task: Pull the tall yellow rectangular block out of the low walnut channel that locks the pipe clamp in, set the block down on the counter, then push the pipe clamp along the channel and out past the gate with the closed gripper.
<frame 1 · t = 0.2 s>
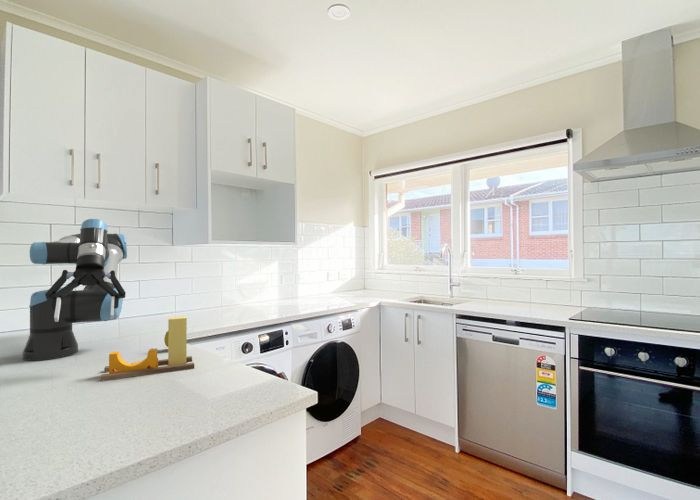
hand: (84, 318, 110), 16 cm above the countertop, tool tilted 35°, fingers open, 13 cm apart
channel: (150, 369, 112), on the countertop
yellow rectangular block: (177, 365, 115), on the countertop
lemon: (172, 350, 135), on the countertop
pipe clamp: (134, 372, 110), on the countertop
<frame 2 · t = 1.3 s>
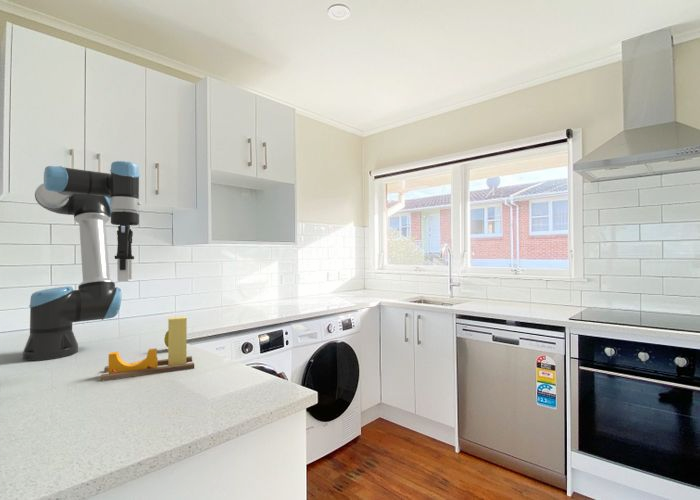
hand: (125, 280, 114), 27 cm above the countertop, tool pointing down, fingers open, 13 cm apart
nothing on the countertop moved.
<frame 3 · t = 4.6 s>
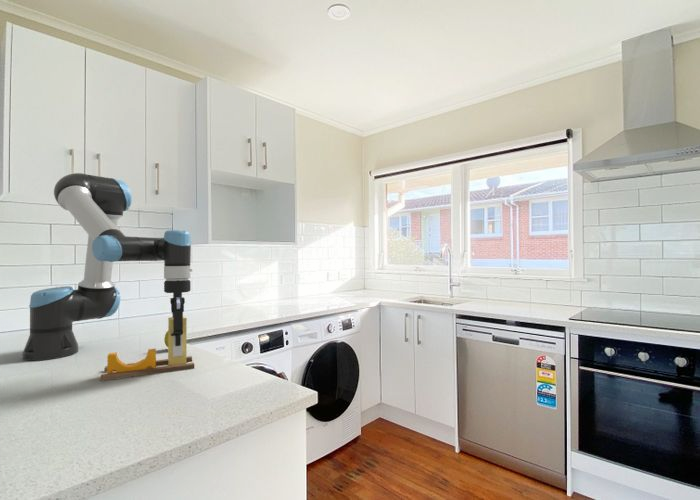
hand: (177, 354, 115), 4 cm above the countertop, tool pointing down, fingers closed on yellow rectangular block, 3 cm apart
yellow rectangular block: (177, 365, 115), on the countertop, touching gripper
when the fingers open (5 cm above the countertop, at t = 9.4 s): yellow rectangular block drops 1 cm, on the countertop.
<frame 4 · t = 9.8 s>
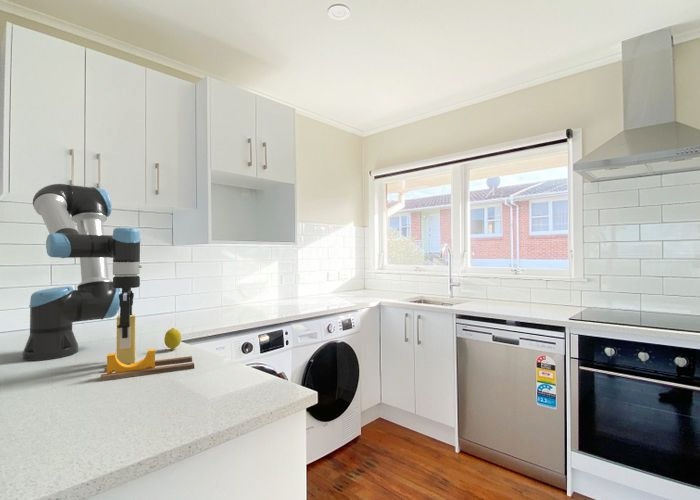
hand: (126, 344, 119), 6 cm above the countertop, tool pointing down, fingers open, 9 cm apart
yellow rectangular block: (126, 362, 119), on the countertop
pipe clamp: (131, 374, 109), on the countertop, touching channel
everything else where it was.
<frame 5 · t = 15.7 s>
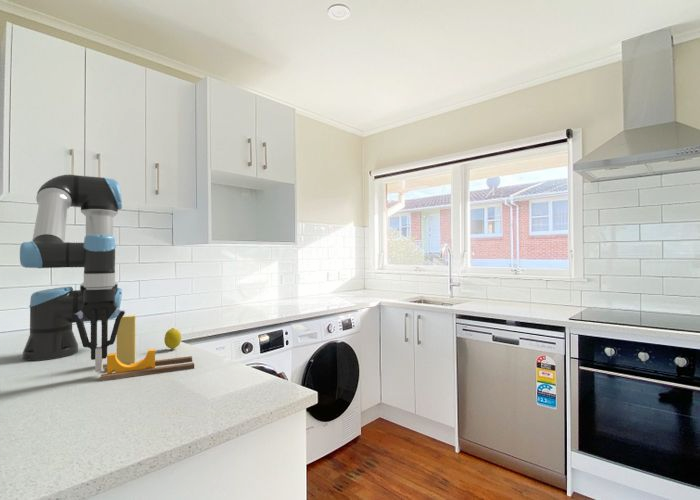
hand: (99, 370, 106), 2 cm above the countertop, tool pointing down, fingers closed
pipe clamp: (132, 374, 109), on the countertop, touching gripper
everything else where it was.
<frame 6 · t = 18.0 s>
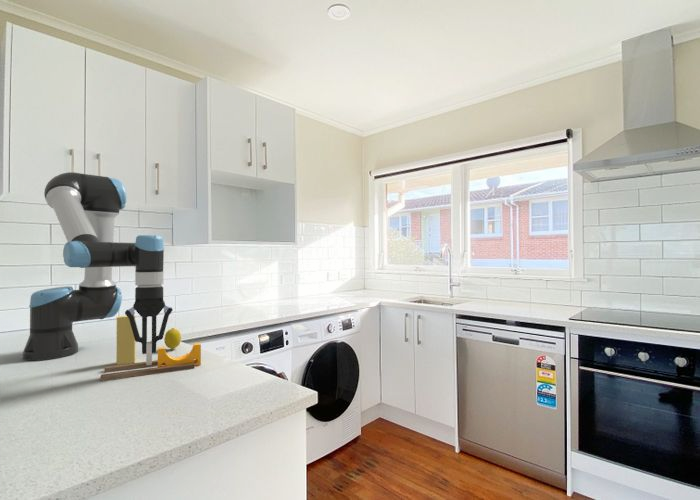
hand: (149, 363, 111), 2 cm above the countertop, tool pointing down, fingers closed
pipe clamp: (179, 366, 115), on the countertop, touching gripper
everything else where it was.
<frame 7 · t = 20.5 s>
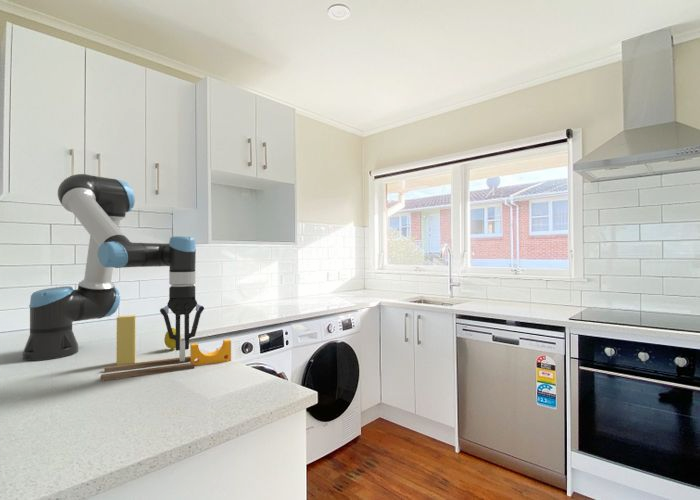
hand: (182, 360, 116), 2 cm above the countertop, tool pointing down, fingers closed
pipe clamp: (210, 362, 120), on the countertop, touching gripper
everything else where it was.
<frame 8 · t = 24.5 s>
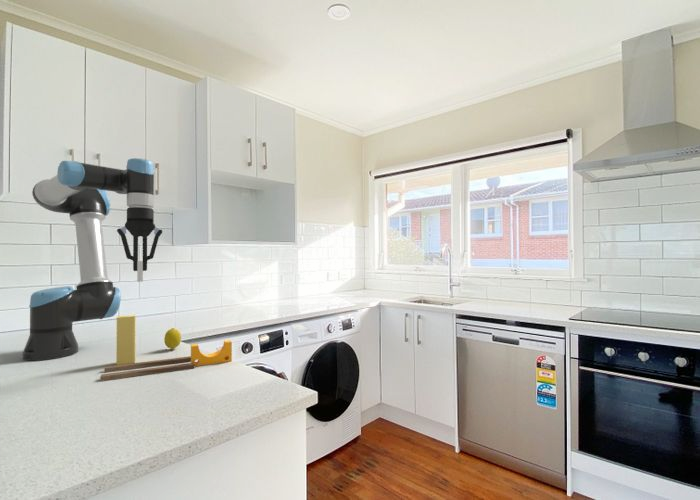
hand: (140, 281, 118), 26 cm above the countertop, tool pointing down, fingers closed
pipe clamp: (211, 363, 119), on the countertop
everything else where it was.
at the end: pipe clamp inside the target area (2.8 cm from its centre), on the countertop; yellow rectangular block inside the target area (0.1 cm from its centre), on the countertop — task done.
